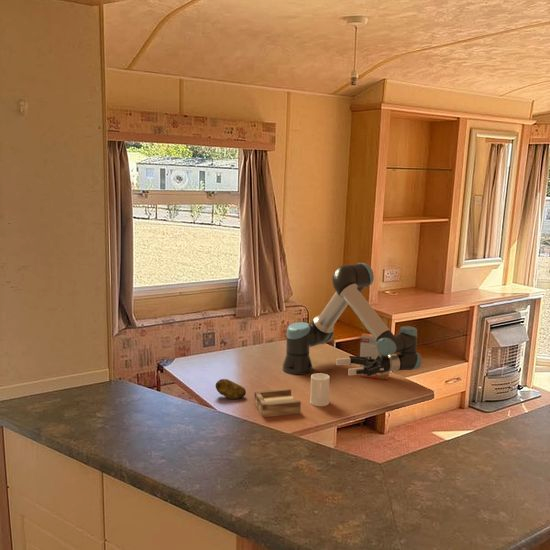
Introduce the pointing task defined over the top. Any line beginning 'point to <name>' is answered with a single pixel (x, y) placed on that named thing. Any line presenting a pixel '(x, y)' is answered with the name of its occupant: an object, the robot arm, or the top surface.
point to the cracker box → (370, 354)
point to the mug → (319, 389)
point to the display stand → (276, 403)
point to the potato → (230, 389)
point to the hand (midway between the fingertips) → (342, 367)
